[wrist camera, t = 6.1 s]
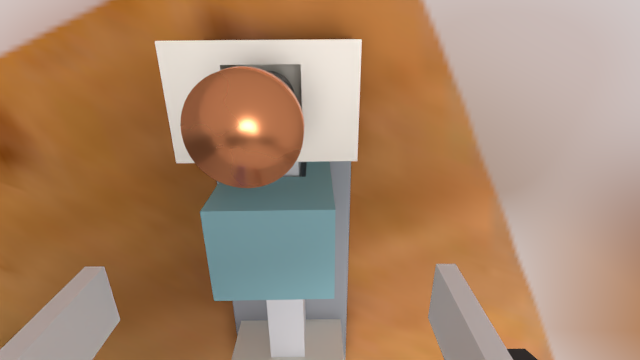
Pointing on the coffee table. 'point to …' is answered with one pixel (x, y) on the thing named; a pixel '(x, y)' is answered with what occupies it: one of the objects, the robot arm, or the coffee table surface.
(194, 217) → the coffee table surface
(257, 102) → the copper round-headed post
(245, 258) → the carriage
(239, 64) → the rail station
